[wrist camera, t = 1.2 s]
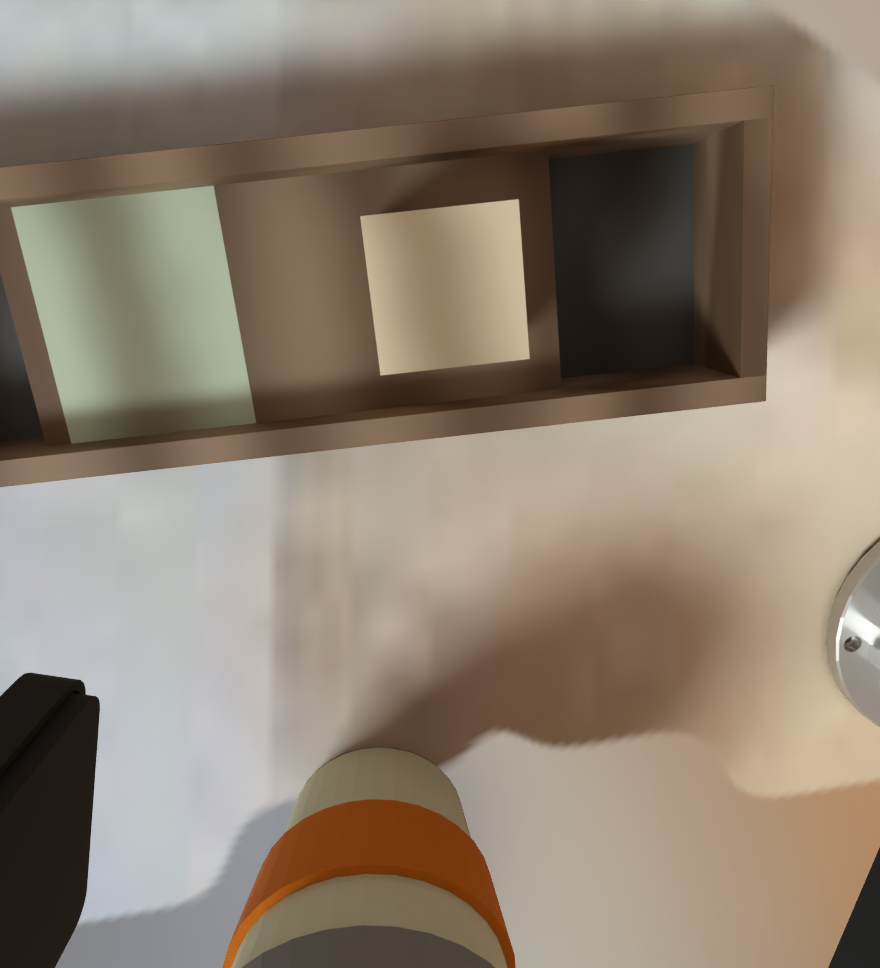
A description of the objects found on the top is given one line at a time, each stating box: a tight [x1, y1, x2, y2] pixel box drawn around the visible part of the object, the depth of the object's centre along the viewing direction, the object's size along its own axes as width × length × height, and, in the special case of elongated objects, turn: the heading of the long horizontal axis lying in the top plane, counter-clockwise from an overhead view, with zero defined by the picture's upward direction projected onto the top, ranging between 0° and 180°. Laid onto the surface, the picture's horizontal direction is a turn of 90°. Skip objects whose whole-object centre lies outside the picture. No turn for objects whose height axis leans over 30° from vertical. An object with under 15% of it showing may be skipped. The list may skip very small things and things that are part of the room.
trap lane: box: [0, 86, 773, 487], centre depth 28 cm, size 36×11×5 cm, turn 96°
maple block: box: [360, 199, 530, 376], centre depth 26 cm, size 5×5×5 cm
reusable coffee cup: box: [223, 747, 515, 968], centre depth 31 cm, size 13×13×15 cm
